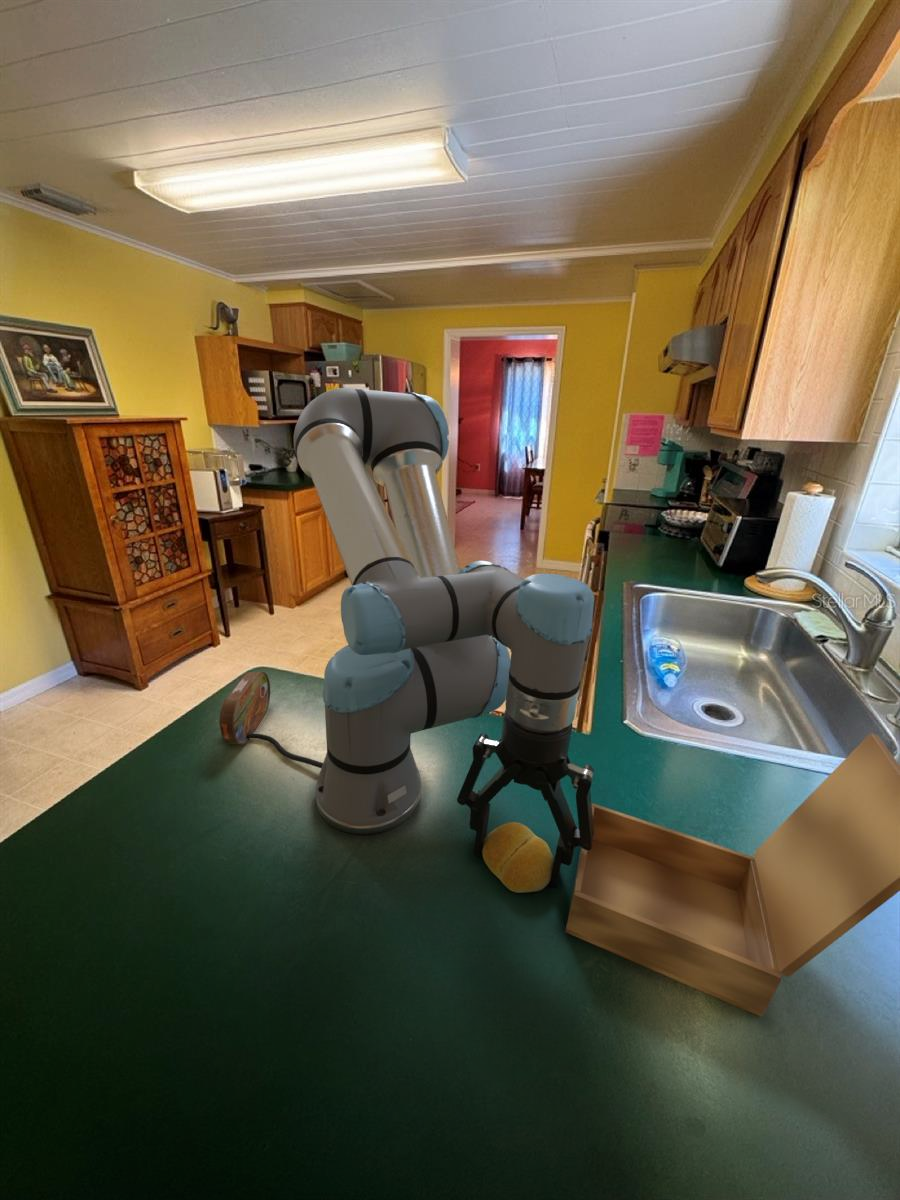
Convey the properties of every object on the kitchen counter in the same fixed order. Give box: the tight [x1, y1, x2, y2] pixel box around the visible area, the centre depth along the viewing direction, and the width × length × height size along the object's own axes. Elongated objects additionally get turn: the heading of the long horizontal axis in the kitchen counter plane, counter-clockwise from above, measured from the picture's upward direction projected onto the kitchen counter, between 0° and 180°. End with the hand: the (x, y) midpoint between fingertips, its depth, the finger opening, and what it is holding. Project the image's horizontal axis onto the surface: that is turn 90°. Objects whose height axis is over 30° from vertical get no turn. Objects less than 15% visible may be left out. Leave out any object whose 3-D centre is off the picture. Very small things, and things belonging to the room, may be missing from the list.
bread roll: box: [481, 821, 554, 894], centre depth 59 cm, size 8×9×4 cm
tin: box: [218, 670, 271, 745], centre depth 81 cm, size 15×3×8 cm, turn 179°
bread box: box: [565, 802, 783, 1018], centre depth 54 cm, size 19×14×6 cm
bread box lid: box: [753, 732, 900, 978], centre depth 45 cm, size 20×14×5 cm
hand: (516, 861), depth 60 cm, fingers closed on bread roll, 9 cm apart
